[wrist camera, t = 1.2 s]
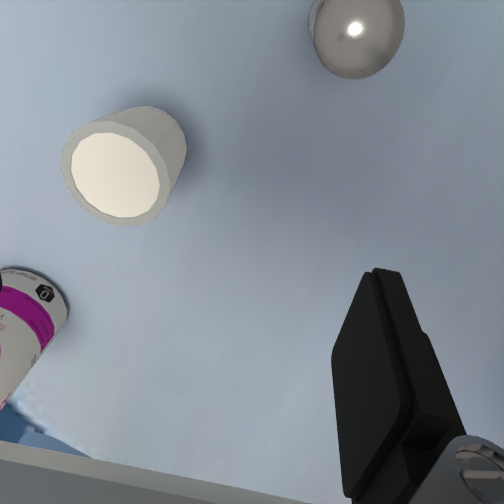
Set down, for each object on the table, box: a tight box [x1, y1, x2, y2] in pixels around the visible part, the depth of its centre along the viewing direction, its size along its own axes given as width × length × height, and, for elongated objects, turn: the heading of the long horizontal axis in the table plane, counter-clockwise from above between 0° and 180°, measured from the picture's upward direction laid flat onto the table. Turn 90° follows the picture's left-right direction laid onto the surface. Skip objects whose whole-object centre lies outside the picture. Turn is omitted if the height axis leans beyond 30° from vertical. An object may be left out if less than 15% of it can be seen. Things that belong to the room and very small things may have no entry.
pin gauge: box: [308, 0, 404, 79], centre depth 20 cm, size 3×3×12 cm
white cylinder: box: [61, 106, 187, 226], centre depth 27 cm, size 7×7×7 cm
